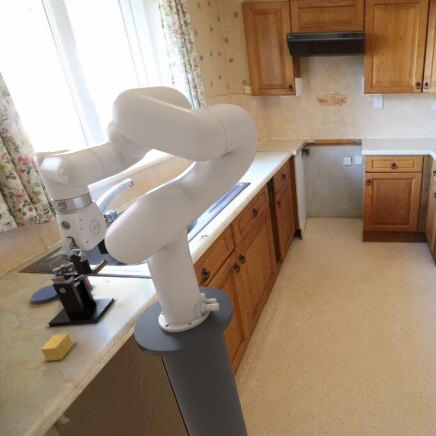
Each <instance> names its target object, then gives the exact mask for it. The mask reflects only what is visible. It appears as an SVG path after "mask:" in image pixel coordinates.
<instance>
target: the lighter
mask: <svg viewBox="0 0 436 436" xmlns="http://www.w3.org/2000/svg"><path fill="white" fill-rule="evenodd" d="M52 272H53V273H54V274H53V275H51V276H50V281H51V282H52V284H54V283H55V282H64V281H65V279H64V277H63V275H64V274H65V273H77V271H76V269H75V267H74V265H73V262H72V263H71V262H70V263H68V264H66V263H64V264H60V266H58V267H55V268H53V269H52ZM88 277H89V276H88ZM88 277H86V278H85V280H86V282H87V284H88V287H89V289H90V291H92V290H93V285H92V284H91V282H90V279H89V278H88Z"/></svg>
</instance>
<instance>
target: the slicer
mask: <svg viewBox="0 0 436 436" xmlns="http://www.w3.org/2000/svg"><path fill="white" fill-rule="evenodd" d="M72 276H74V277H75V278H77V277H79V276H80V275H78V274H77V273H65V274H64V275H63V277H64V279H65V280H67V279H69V278H71V277H72ZM79 282H80V283H79V284H78V285H77V286H76V287H75V285H74V283H73V281H67V282H55V283H52V285H53V287H54V289H55V291H56V293H57V295H58V299H59V301H60V303H61V306H62V307H63V308H62V309H61V310H60V311H59V312H58V313H57V314H56V315H55V316H54V317H53V318H52V319H51V320H50V321H49V322H48V326H49V327H50V328H52V327H53V328H55V327H66V326H67V327H68V326H78V325H79V326H80V325H90V324H91V325H92V324H98V322H99V321H100V320H101V319H102V318H103V316H104V315H105V314H106V313H107V311H108V310H109V309H110V308H111V306H112V305H113V304H114V303H115V298H114V297H106V298H94V296H93V293H92V290H90V289H89V287H88V284H87V282H86V280H85V278H84V279H83V280H81V281H79Z"/></svg>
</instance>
